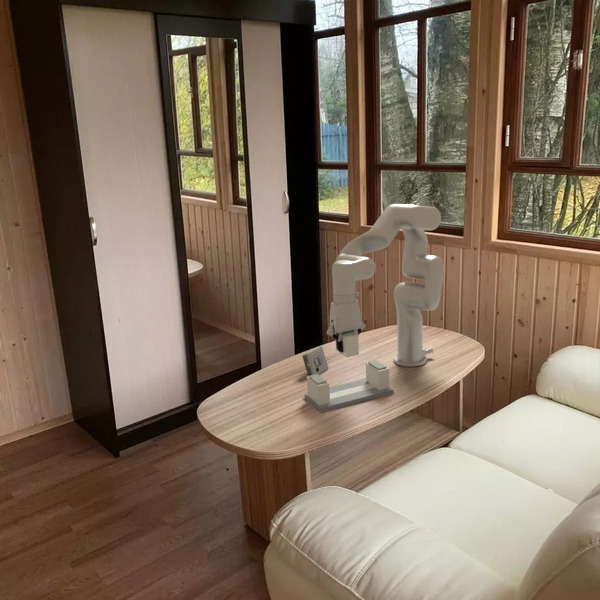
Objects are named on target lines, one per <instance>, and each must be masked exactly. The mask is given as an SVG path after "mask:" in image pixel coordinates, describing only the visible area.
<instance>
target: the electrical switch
mask: <svg viewBox="0 0 600 600" xmlns="http://www.w3.org/2000/svg"><path fill="white" fill-rule="evenodd" d="M301 358H302V360H303V364H304V366H305V370H306V374H307V376H311V375H315V374H318V375H320V374H322V373H324V372H326V371H327V370H329V365H328V362H327V361H328V360H327V356H326V354H325V351H324V348H323V346H318V347H316V348H315V349H312V350H311V351H309V352H306V353H304V354H303V355H302V357H301Z"/></svg>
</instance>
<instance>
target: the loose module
mask: <svg viewBox="0 0 600 600" xmlns="http://www.w3.org/2000/svg"><path fill="white" fill-rule="evenodd" d="M335 341H336V339H335ZM341 341H343V352H342V353H341V352H340V351H338V350H337V348H336V347H335V351H336V352H338V353H340V355H343V356H344V357H345V358H350V357H354V356H355V357H356V356H359V355H360V350H359V349H360V347H359V337H358V335H357V334H355V333H354V332H353V331H348V332H343V333H342V339H341Z"/></svg>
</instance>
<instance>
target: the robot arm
mask: <svg viewBox="0 0 600 600" xmlns="http://www.w3.org/2000/svg"><path fill="white" fill-rule="evenodd" d="M441 221H442V214H441V211H440V210H439V208H437V207H435V206H430V205H429V206H428V205H427V206H425V205H418V204H404V203H392V204H390V205H388V206H386V208H385V209H384V210H383V211H382V213H381V214H380V216H379V217H378V218H377V219H376V221H375V222H374V223H373V224H372V226H371V228H370V229H369V230H368V231H366V232H365V233H362V234H361V235H359V236H356V237H355V238H354V239H352V240H350V241H349V242H347V243H346V245H345V246H344V247H343V248H342V250H340V252H339V254H338V255H337V256H336V258H335V261H334V262H333V263H332V265H331V273H332V276H331V277H332V290H333V291H332V292H333V293H332V294H333V296H332V297H333V301H332V302H330V303H331V304H330V308H329V327H328V329H327V331H326V334H327V335H328V336H330V337H332V338H333V339H336V340H335V349H336V348H337V350H338V351H340V352H341V353H342V352H343V341H341V339H342V333H343V332H348V331H353V332H354V333H355V334H357V335H358V338H359V336H360V334H362V331H363V330H364V329H365V328H366V326H367V325H366V324H365V323H364V321H363V320H362V314H361V313H362V312H361V308H360V304H359V300H358V297H359V296H360V292H359V291H357V281H364V280H368V279H370V278H372V277H373V276H374V274H375V273H376V270H377V264H376V262H375V261H374V260H373V258H371V257H368V256H364V255H365V254H368V253H371V252H376V251H380V250H383V249H385V248H387V247H389V246H390V244H391V243H392V242H393V241H394V239H395V238H396V237H397V234H398V233H399V232H400V231H402V233H403V236H404V237H403V238H404V247H403V248H404V249H403V255H402V261H401V273H402V275H403V277H406V278H408V279H414V280H421V281H424V283H420V282H414V281H401V282H400V283H397V284H396V286H395V288H394V290H393V299H394V303H395V309H396V328H397V330H396V332H397V334H396V335H397V337H396V339H397V354H396V355H395V356H393V361H394V364H396V365H398V366H401V367H407V368H408V367H410V368H412V367H413V368H414V367H419V366H423V365H425V364H427V362H428V361H427V357H426V355H428V354H432V353H433V352H434V349H433V347H430V348H427V347H423V315H422V312H421V310H422V311H429V312H430V311H431V312H433V311H434V310H436V309H437V308H438V307H439V303H440V301H441V296H442V295H441V294H442V288H443V281H444V273H445V266H444V261H443V259H442V258H441V257H440V256H437V255H432V254H428V247H429V240H428V239H429V238H428V236H427V234H426V232H425V231H433V230H434V231H435V230H436V229H437V228H438V227H439V226H440V224H441ZM338 351H337V352H338ZM341 353H340V354H341ZM433 354H434V353H433Z"/></svg>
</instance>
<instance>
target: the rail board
mask: <svg viewBox="0 0 600 600" xmlns="http://www.w3.org/2000/svg"><path fill="white" fill-rule="evenodd" d="M329 390H330V403H328V404H324V405H320V406H319V405H318V404H317V403H316V402H315V401H314V400H313V399H311V398H310V397H309V396H308V392H305V393H304V395H303V396H304V399H305V400H306V401H307V402H308V403H310V404H311V405H312V406H313V407H314V408H315V409H317V410H318V412H320V413H324V412H328V411H331V410H335V409H339V408H343V407H347V406H351V405H356V404H358V403H361V402H362V403H363V402H365V401H370V400H375V399H377V398H381V397H384V396H389V395H393V394H395V389H394V388H393V387H391V386H390V385H389V388H386V389H382V390H379V389H377V388H376V387H374V386H373V385H372V384H370V383H368V382H367V381H366V378H363V379H359V380H354V381H351V382H348V383H342V384H338V385H335V386H329Z"/></svg>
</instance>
